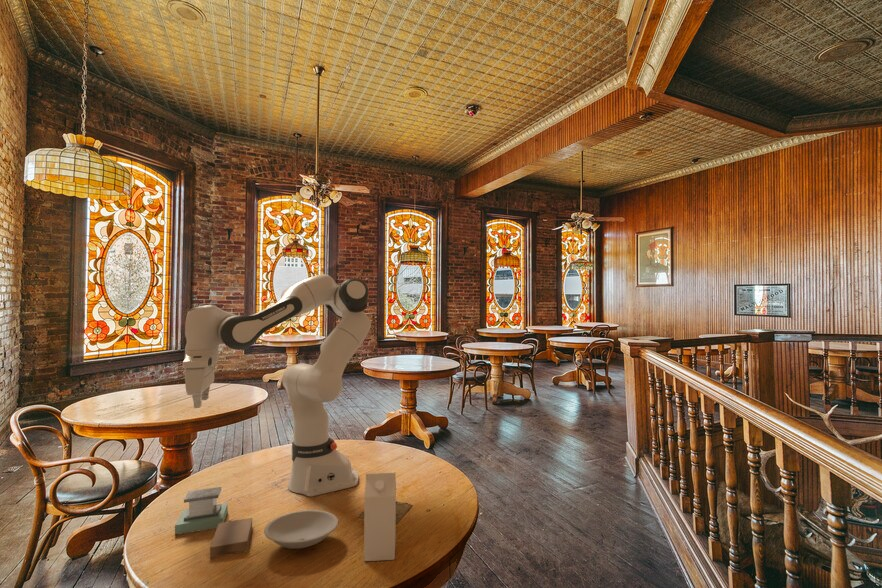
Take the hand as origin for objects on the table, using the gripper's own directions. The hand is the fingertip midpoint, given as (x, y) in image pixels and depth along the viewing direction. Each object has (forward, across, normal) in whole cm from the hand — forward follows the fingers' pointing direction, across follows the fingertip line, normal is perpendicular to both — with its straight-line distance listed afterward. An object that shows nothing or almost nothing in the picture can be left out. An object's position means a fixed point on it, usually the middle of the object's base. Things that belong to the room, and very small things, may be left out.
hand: (201, 403), depth 124 cm
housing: (+27, +15, +4) cm, 31 cm away
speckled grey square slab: (+30, +25, +52) cm, 65 cm away
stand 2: (+29, +27, +13) cm, 42 cm away
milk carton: (+29, +43, +47) cm, 70 cm away
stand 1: (+29, +15, +4) cm, 33 cm away
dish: (+29, +34, +29) cm, 53 cm away
